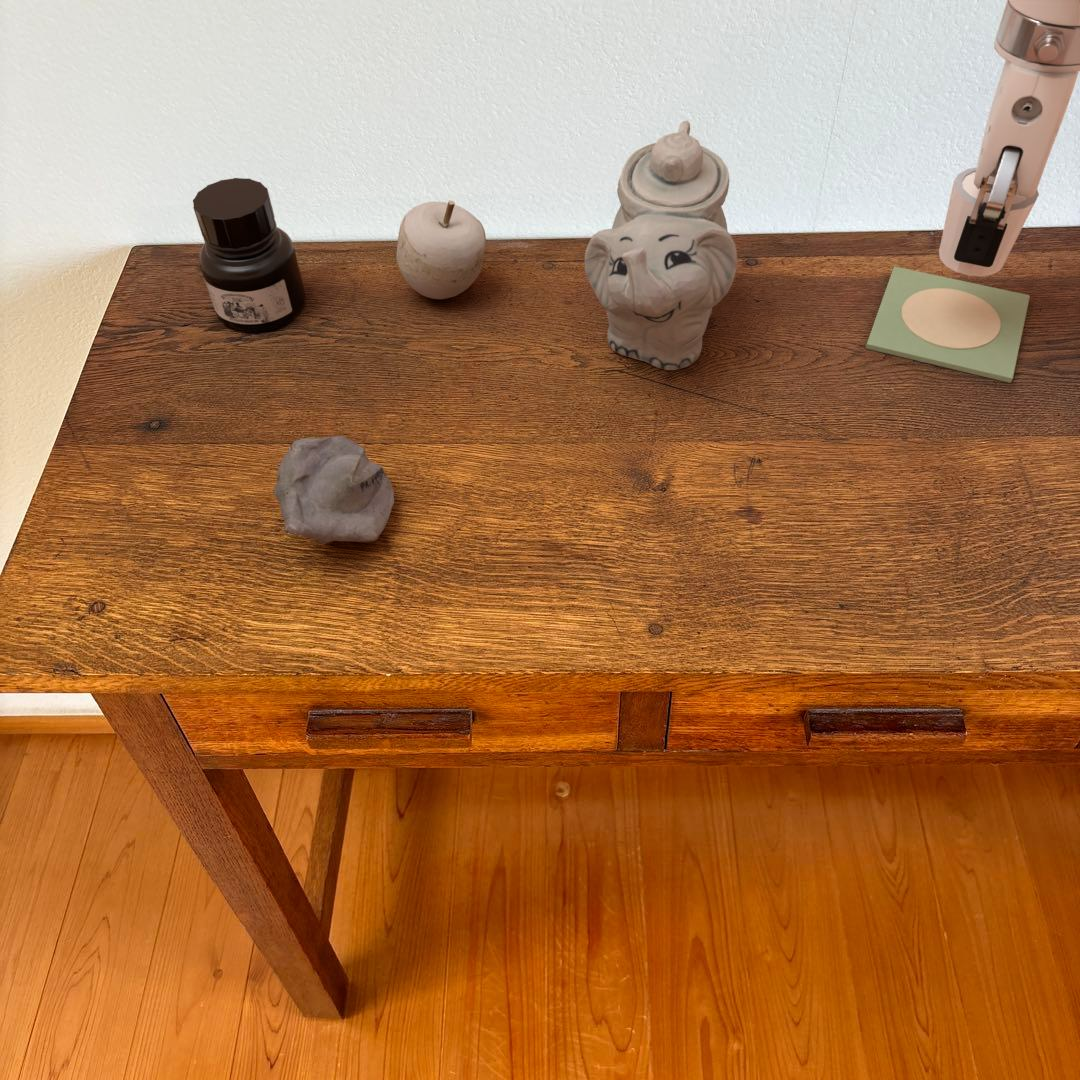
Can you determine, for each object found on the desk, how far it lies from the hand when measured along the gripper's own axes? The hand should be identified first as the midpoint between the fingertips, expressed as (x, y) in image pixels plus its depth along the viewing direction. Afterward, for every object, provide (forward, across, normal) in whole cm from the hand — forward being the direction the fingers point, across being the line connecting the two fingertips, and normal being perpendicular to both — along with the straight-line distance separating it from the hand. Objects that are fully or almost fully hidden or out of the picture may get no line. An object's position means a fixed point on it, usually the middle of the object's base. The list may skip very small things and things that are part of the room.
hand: (979, 236), depth 89 cm
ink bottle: (+10, -22, +63) cm, 67 cm away
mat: (+10, 0, 0) cm, 10 cm away
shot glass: (+2, 0, 0) cm, 2 cm away
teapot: (+10, -13, +25) cm, 30 cm away
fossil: (+10, -44, +41) cm, 61 cm away
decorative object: (+10, -13, +47) cm, 50 cm away
